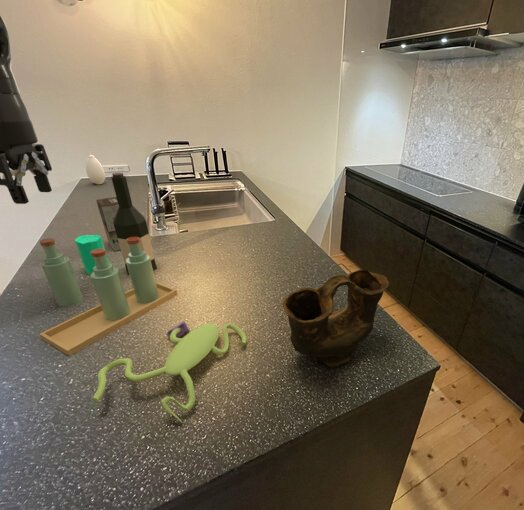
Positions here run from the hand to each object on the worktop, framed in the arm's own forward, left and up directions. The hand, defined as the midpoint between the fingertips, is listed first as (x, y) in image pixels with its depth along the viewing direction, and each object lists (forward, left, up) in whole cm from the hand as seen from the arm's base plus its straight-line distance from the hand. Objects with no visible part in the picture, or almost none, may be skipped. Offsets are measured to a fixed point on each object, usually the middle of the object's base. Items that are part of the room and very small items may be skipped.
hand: (34, 197), depth 68 cm
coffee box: (+22, +25, -28) cm, 44 cm away
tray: (+4, -15, -28) cm, 32 cm away
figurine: (+4, -43, -28) cm, 51 cm away
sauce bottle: (+48, +112, -28) cm, 125 cm away
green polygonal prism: (+10, +12, -28) cm, 32 cm away
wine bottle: (+18, +2, -28) cm, 33 cm away
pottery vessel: (+29, -64, -28) cm, 76 cm away
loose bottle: (-1, -1, -28) cm, 28 cm away
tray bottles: (+8, -15, -27) cm, 32 cm away
